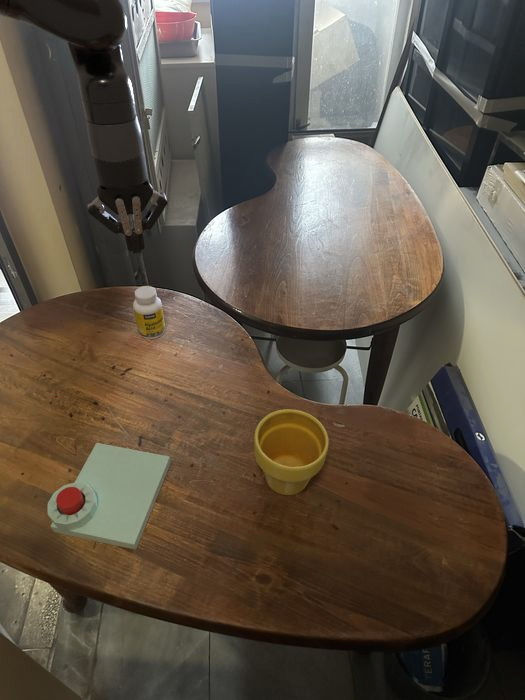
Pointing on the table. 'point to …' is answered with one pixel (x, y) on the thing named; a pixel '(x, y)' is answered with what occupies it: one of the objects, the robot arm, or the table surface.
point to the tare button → (70, 500)
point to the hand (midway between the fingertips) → (136, 251)
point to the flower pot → (290, 449)
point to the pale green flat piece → (113, 496)
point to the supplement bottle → (148, 313)
